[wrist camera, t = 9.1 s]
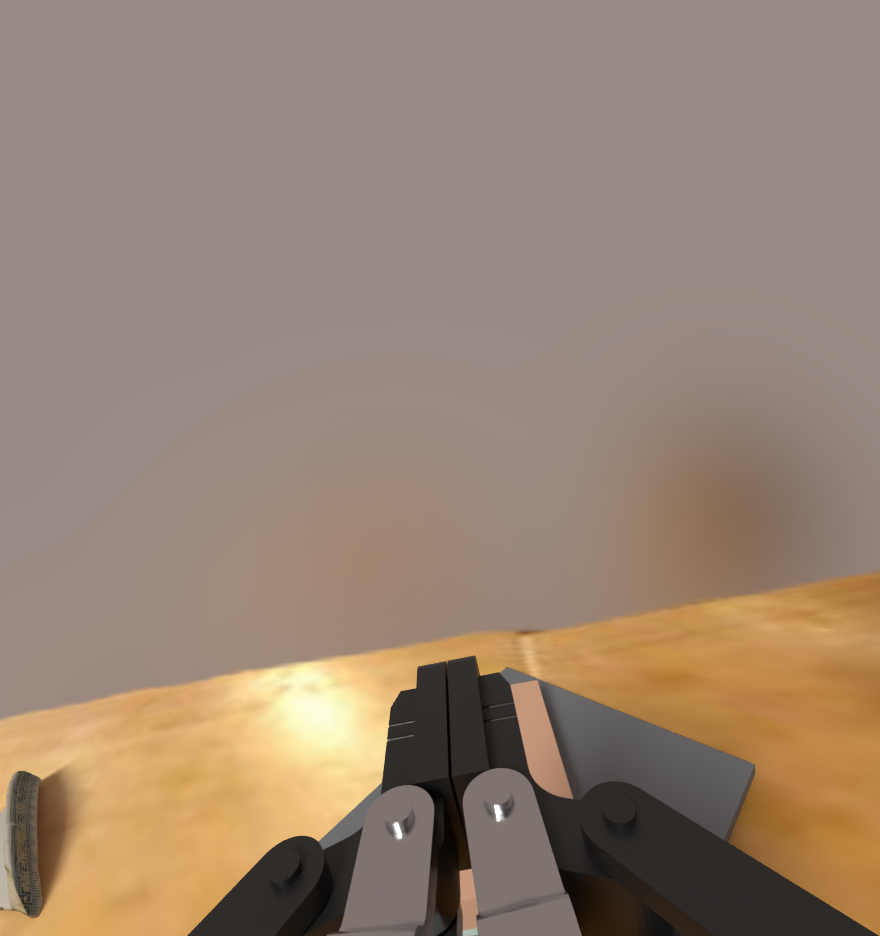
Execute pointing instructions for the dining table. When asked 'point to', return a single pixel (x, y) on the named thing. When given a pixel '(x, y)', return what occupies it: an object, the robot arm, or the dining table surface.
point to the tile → (542, 768)
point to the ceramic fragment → (20, 847)
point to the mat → (624, 763)
